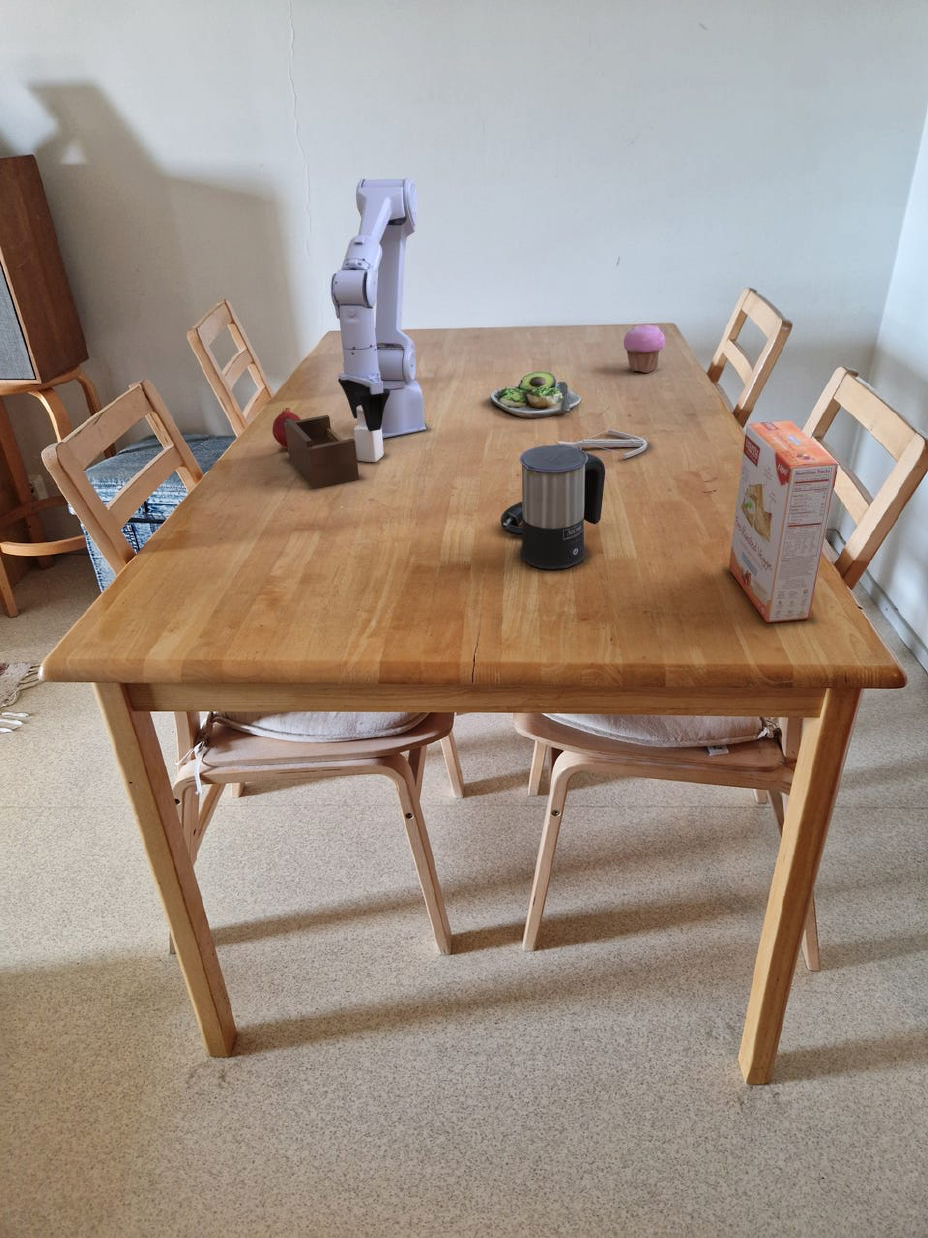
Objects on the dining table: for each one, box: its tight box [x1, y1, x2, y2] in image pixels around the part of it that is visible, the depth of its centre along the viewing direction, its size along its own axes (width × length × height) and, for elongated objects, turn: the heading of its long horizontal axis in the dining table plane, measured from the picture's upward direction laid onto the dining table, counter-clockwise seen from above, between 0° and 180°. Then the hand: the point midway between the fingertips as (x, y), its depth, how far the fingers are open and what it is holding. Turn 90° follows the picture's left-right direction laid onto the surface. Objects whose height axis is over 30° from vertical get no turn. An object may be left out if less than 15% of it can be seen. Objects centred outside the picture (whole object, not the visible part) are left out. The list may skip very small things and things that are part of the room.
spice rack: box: [284, 414, 360, 490], centre depth 155 cm, size 8×15×8 cm, turn 25°
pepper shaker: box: [353, 405, 385, 463], centre depth 158 cm, size 4×4×10 cm
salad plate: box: [489, 371, 581, 419], centre depth 180 cm, size 19×18×5 cm
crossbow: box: [557, 428, 648, 460], centre depth 160 cm, size 16×13×2 cm
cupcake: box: [623, 324, 666, 374], centre depth 196 cm, size 9×9×10 cm
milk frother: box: [500, 444, 606, 570], centre depth 126 cm, size 14×16×15 cm
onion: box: [272, 406, 302, 449], centre depth 164 cm, size 6×6×8 cm
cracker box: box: [728, 420, 839, 624], centre depth 110 cm, size 14×6×21 cm, turn 5°
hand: (367, 423), depth 157 cm, fingers open, 7 cm apart
